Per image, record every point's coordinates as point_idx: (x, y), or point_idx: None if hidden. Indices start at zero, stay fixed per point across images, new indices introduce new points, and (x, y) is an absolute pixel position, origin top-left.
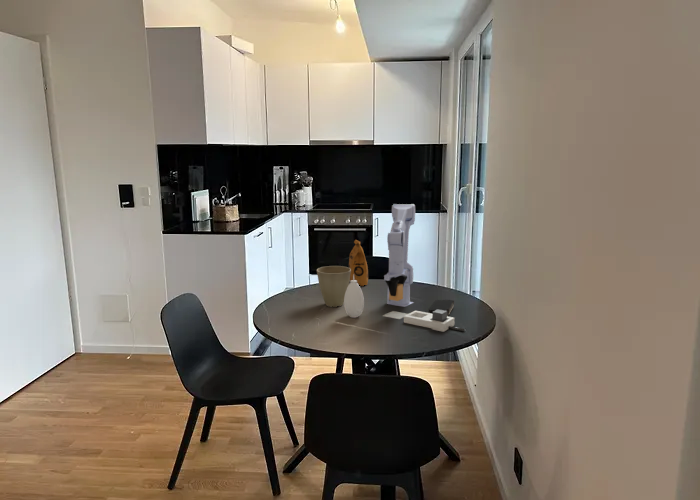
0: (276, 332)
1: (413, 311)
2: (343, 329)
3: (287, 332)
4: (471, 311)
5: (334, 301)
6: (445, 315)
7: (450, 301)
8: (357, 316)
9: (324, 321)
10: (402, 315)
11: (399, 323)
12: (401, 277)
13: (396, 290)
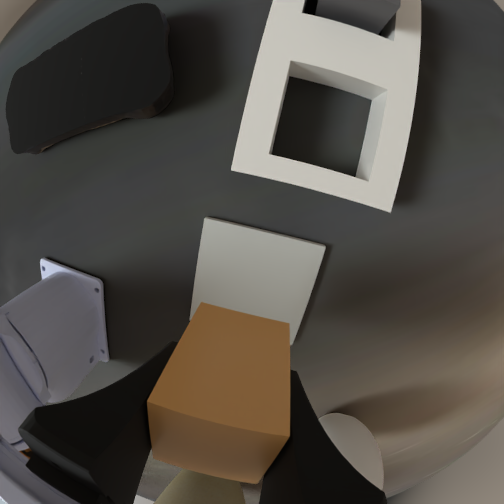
0: (452, 458)
1: (260, 175)
2: (456, 389)
3: (456, 450)
4: (68, 3)
5: (237, 485)
6: None
7: (24, 76)
8: (340, 414)
9: (383, 450)
10: (248, 250)
11: (376, 228)
12: (108, 484)
13: (290, 404)
